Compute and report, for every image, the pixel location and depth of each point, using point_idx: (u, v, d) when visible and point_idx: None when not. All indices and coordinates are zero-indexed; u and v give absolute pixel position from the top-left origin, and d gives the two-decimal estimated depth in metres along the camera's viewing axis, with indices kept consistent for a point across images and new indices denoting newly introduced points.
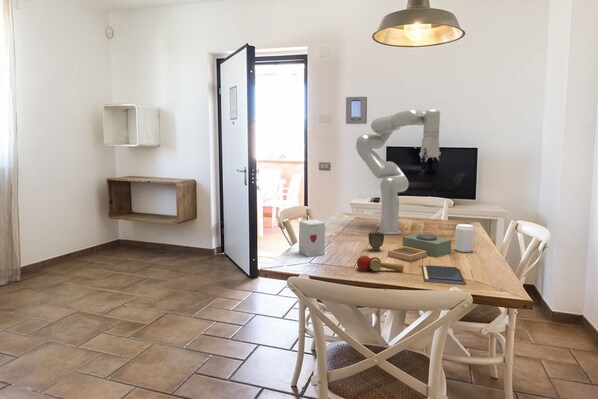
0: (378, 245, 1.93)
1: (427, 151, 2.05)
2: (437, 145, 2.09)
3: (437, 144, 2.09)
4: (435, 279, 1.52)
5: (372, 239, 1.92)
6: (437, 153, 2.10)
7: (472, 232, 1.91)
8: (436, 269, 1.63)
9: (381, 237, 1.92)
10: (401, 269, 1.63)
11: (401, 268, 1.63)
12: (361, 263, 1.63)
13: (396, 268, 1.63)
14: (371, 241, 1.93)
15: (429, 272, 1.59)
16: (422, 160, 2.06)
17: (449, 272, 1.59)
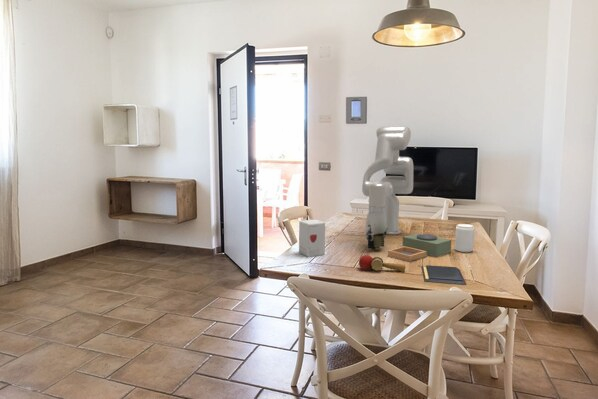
0: (378, 245, 1.93)
1: (372, 230, 1.90)
2: (383, 221, 1.94)
3: (383, 220, 1.93)
4: (435, 279, 1.52)
5: None
6: (384, 229, 1.95)
7: (472, 232, 1.90)
8: (437, 269, 1.63)
9: (381, 237, 1.92)
10: (403, 269, 1.63)
11: (403, 268, 1.63)
12: (363, 263, 1.64)
13: (398, 268, 1.63)
14: None
15: (429, 272, 1.59)
16: (368, 239, 1.92)
17: (449, 272, 1.59)
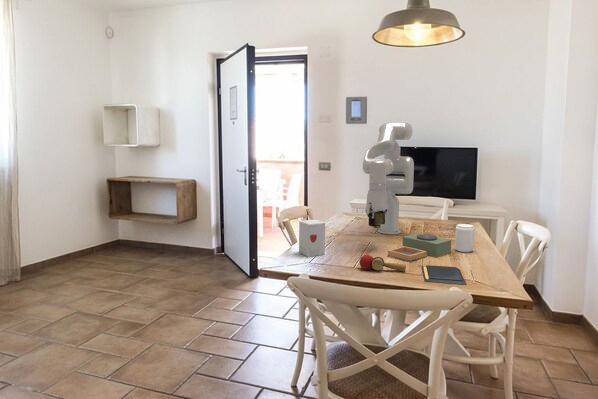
0: (379, 222, 1.92)
1: (372, 207, 1.89)
2: (384, 198, 1.92)
3: (384, 197, 1.92)
4: (435, 279, 1.52)
5: None
6: (385, 206, 1.94)
7: (472, 232, 1.90)
8: (437, 269, 1.63)
9: (382, 214, 1.91)
10: (403, 269, 1.63)
11: (403, 268, 1.63)
12: (363, 262, 1.64)
13: (398, 268, 1.63)
14: None
15: (429, 272, 1.59)
16: (369, 216, 1.91)
17: (449, 272, 1.59)
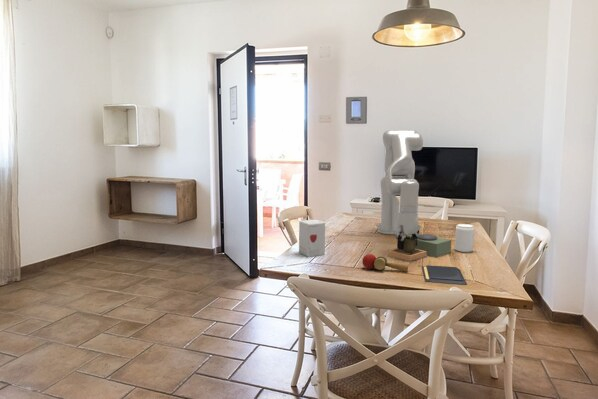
0: (410, 250, 1.82)
1: (404, 229, 1.79)
2: (415, 220, 1.82)
3: (415, 219, 1.82)
4: (436, 279, 1.52)
5: (404, 243, 1.82)
6: (416, 229, 1.84)
7: (472, 232, 1.91)
8: (437, 269, 1.63)
9: (414, 241, 1.82)
10: (406, 269, 1.62)
11: (406, 268, 1.62)
12: (365, 261, 1.65)
13: (401, 268, 1.63)
14: None
15: (430, 272, 1.59)
16: (398, 239, 1.80)
17: (449, 272, 1.59)
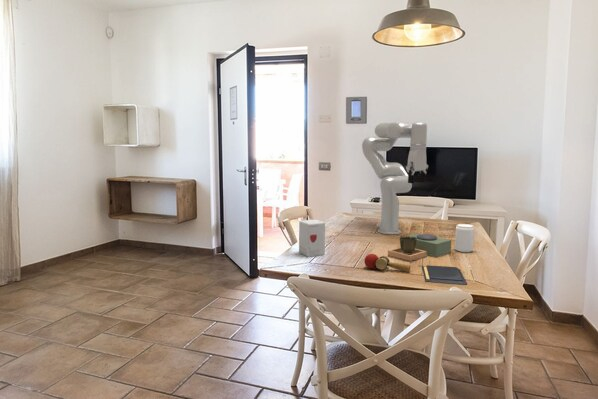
0: (410, 250, 1.82)
1: (414, 165, 2.02)
2: (424, 158, 2.06)
3: (424, 157, 2.06)
4: (436, 279, 1.52)
5: (404, 243, 1.82)
6: (425, 166, 2.07)
7: (472, 232, 1.90)
8: (437, 269, 1.63)
9: (414, 241, 1.82)
10: (407, 269, 1.62)
11: (407, 268, 1.62)
12: (367, 261, 1.66)
13: (402, 268, 1.63)
14: (403, 245, 1.83)
15: (430, 272, 1.59)
16: (409, 174, 2.03)
17: (450, 272, 1.59)
